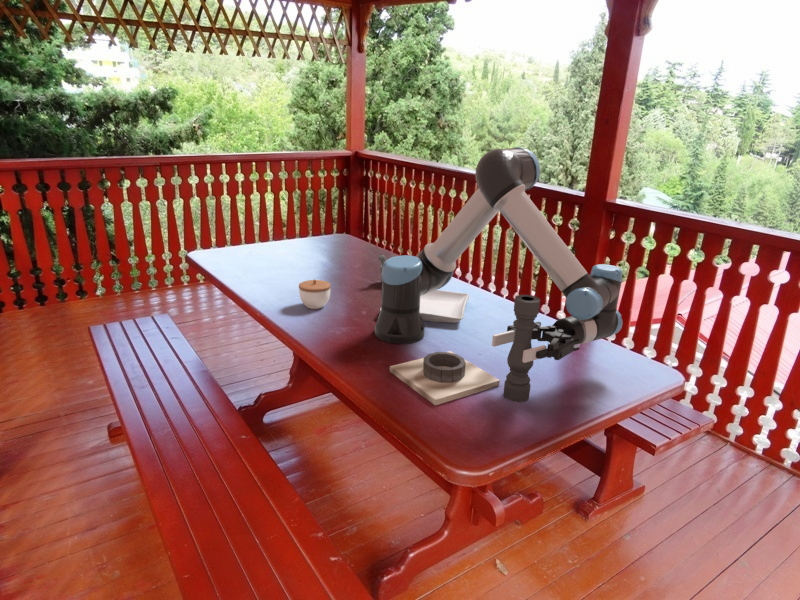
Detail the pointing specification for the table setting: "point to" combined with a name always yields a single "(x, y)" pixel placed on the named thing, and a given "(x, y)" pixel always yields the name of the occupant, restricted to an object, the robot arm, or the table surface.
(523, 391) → the candle holder
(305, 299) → the lidded jar
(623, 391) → the table surface
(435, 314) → the square plate
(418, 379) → the socket board
